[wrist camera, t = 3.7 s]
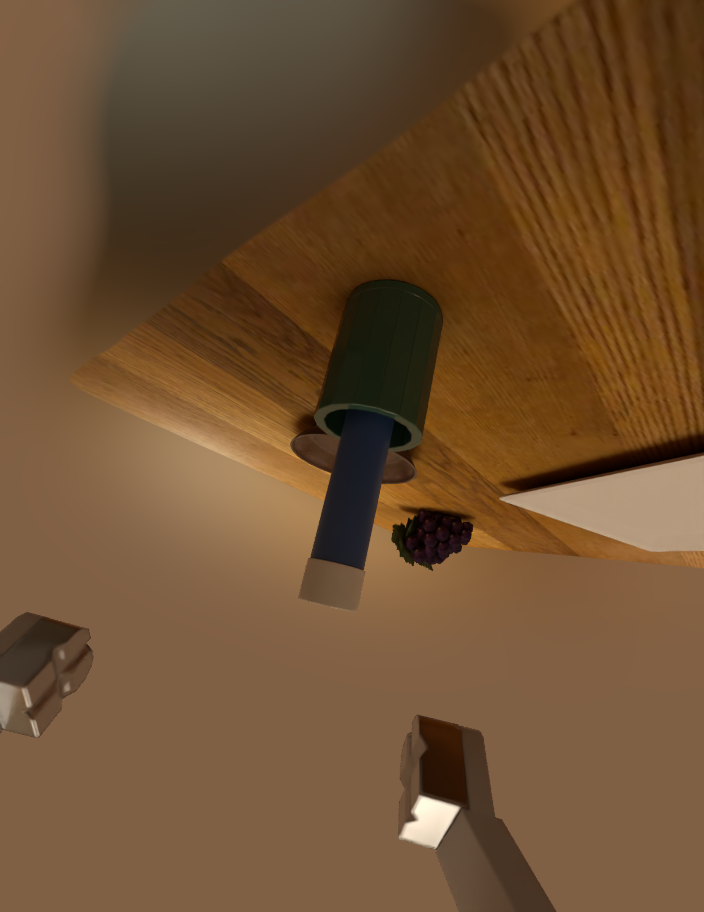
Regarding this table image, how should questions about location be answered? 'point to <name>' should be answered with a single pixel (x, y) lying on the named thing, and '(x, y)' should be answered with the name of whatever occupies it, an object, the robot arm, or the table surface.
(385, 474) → the saucer
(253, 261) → the table surface
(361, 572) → the marker
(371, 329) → the pen pot
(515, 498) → the beige flat square slab
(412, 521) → the fruit
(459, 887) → the robot arm
